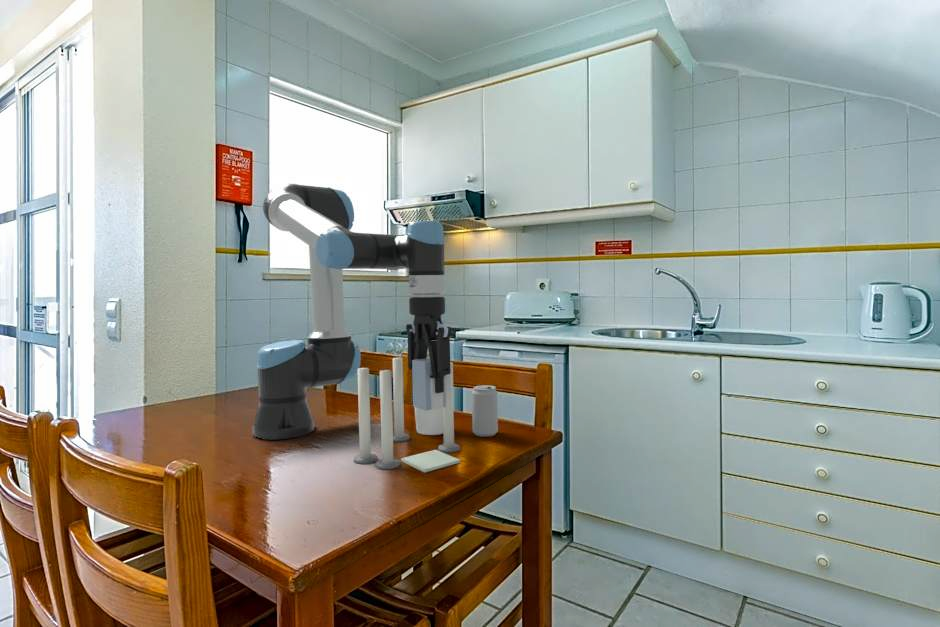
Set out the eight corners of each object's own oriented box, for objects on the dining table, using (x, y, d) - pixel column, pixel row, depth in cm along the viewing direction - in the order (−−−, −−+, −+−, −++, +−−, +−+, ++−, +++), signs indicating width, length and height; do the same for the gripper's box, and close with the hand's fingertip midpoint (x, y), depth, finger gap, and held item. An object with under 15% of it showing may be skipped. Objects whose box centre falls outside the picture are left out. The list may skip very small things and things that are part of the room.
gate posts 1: (349, 462, 111) (346, 370, 110) (395, 435, 131) (393, 356, 130) (369, 464, 110) (367, 371, 109) (412, 436, 130) (411, 357, 128)
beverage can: (495, 438, 127) (495, 389, 127) (470, 437, 129) (469, 389, 128) (499, 430, 134) (499, 384, 133) (475, 429, 135) (474, 384, 134)
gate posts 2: (371, 464, 110) (368, 370, 109) (451, 444, 123) (449, 360, 122) (383, 471, 106) (380, 374, 105) (464, 449, 119) (462, 362, 118)
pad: (401, 461, 112) (401, 458, 112) (435, 452, 118) (435, 449, 117) (424, 472, 105) (424, 469, 105) (459, 462, 110) (459, 459, 110)
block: (413, 406, 111) (412, 359, 110) (432, 402, 114) (431, 357, 113) (426, 410, 107) (425, 362, 106) (445, 406, 110) (444, 359, 110)
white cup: (456, 427, 138) (456, 382, 137) (443, 437, 129) (442, 389, 128) (423, 424, 141) (422, 380, 140) (407, 434, 132) (406, 387, 131)
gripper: (389, 296, 114) (392, 401, 115) (437, 296, 100) (439, 416, 101) (418, 295, 119) (420, 396, 120) (467, 295, 104) (469, 410, 106)
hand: (429, 405), depth 110 cm, fingers closed on block, 5 cm apart
